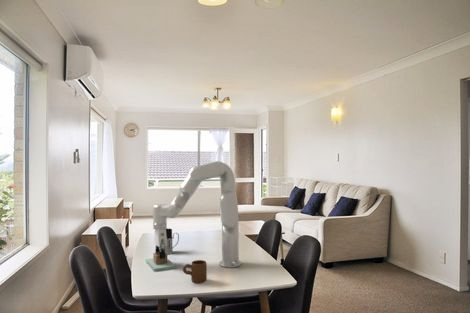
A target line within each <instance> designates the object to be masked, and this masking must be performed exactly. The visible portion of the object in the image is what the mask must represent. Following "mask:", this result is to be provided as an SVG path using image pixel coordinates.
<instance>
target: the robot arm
mask: <svg viewBox="0 0 470 313" xmlns="http://www.w3.org/2000/svg"><path fill="white" fill-rule="evenodd" d="M215 178H219V180H220V199H219V202H220V204H219V205H220V222H221V260H220V261H219V266H221V267H223V268H238V267H240V266H241V265H242V261H241V260H239V258H240V256H239V254H240V253H239V252H240V251H239V250H240V249H239V247H240V246H239V245H240V244H239V232H240V231H239V204H238V196H237V190H236V187H237V186H236V179H235V178H236V177H235V174H234V171H233V169H232V168H231V166H229V165H228V164H227V163H224V162H223V161H219V160H217V161H213V162H208V163H204V164H200V165H194V166H193V167H191V169H190V171H189V174H187V176H186V178H185V179H184V180H183V182H182V183H181V185H180V187H179V190H178V193H176V196H175V197H174V199H173V200H172V202H171V203H170V204H167V205H166V204H164V203H158V204H156V203H155V204H154V205H153V206H152V207H153V209H152V210H153V212H152V216H153V218H152V221H153V222H152V223H153V225H152V226H153V228H152V229H153V230H154V245H155V251H154V253H159V259H163V258H165V246H167V236H166V229H168V228H167V226H168V223H167V222H168V220H167V218H169V219H175V218H176V217H178V216H179V215H180V214H181V212H182V210H183V209H184V207H185V206H186V205H187V203H188V202H189V200H190V199H191V198H192V197H193V195H194V193H196V191H197V189H198V187H199V186H200V184H201V183H202V182H203V181H205V180H206V181H207V180H210V179H215ZM161 245H162V246H161Z"/></svg>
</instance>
